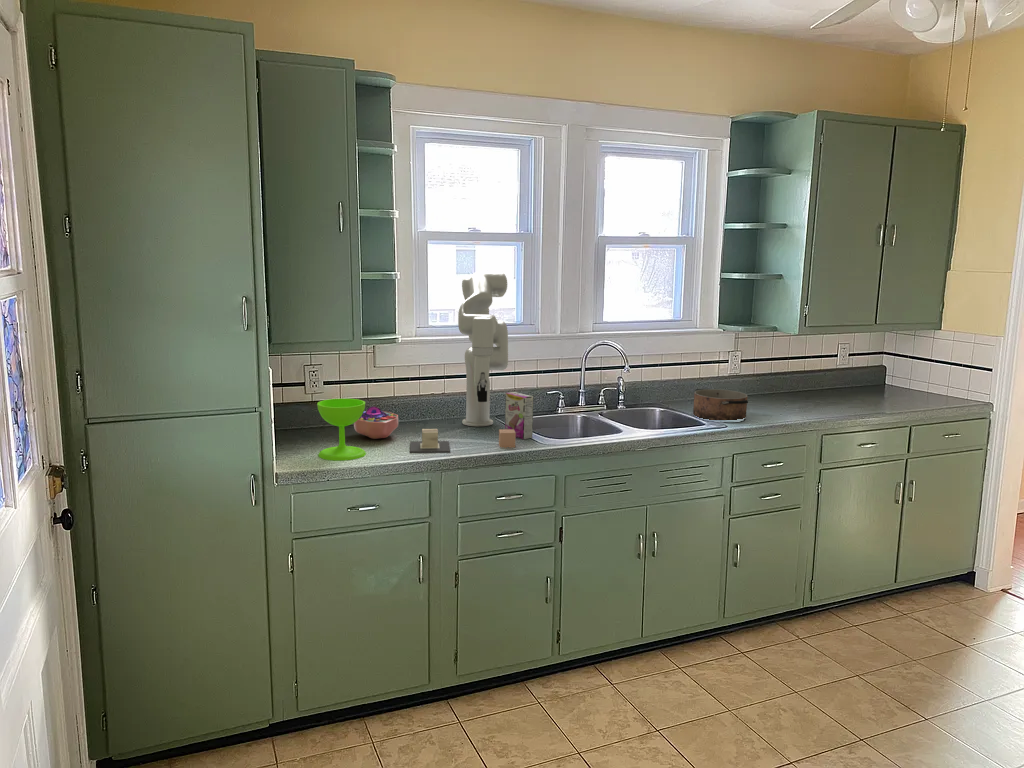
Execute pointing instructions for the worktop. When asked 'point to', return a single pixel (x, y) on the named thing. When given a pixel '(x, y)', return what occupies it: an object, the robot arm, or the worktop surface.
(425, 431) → the birch block
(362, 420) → the cell model
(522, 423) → the candy bar box
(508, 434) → the terracotta block
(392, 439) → the worktop surface
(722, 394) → the cooking pot
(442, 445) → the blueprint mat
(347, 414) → the wineglass
